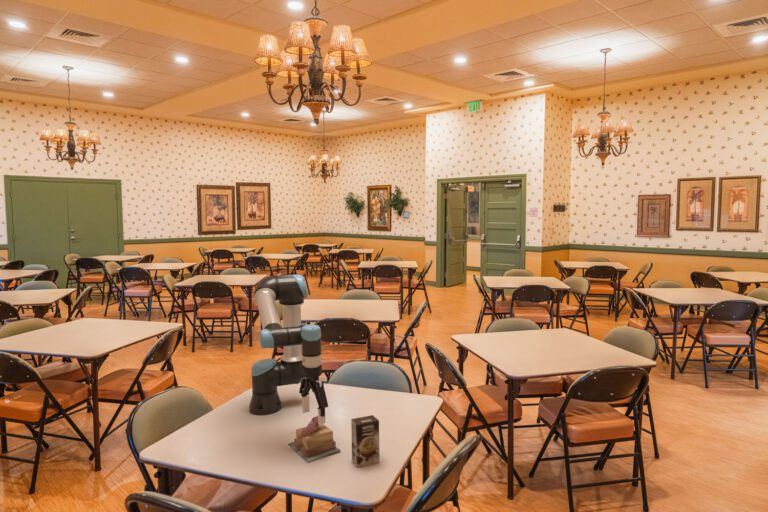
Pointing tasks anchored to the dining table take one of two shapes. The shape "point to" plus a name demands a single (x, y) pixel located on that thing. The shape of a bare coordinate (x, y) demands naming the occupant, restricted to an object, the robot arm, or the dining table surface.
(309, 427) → the video game controller
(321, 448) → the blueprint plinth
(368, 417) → the coffee box
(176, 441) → the dining table surface
